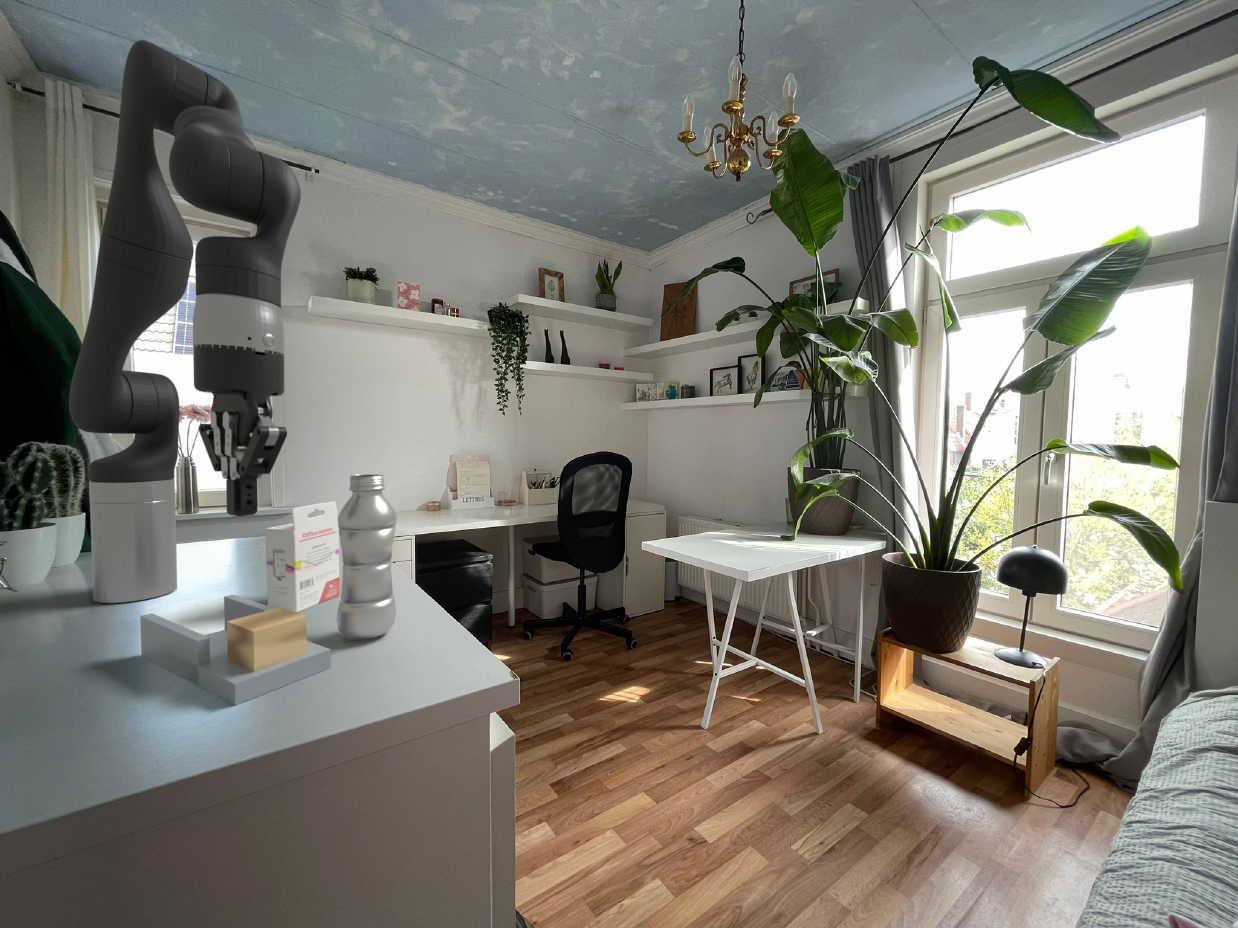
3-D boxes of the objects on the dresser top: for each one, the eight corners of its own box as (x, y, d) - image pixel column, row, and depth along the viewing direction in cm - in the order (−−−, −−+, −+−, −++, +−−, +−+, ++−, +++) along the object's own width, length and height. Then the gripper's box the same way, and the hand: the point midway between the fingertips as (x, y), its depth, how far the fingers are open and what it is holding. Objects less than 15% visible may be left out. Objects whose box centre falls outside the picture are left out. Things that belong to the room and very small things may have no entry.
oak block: (227, 660, 52) (226, 621, 52) (279, 643, 56) (279, 607, 56) (254, 672, 49) (253, 631, 49) (306, 653, 54) (306, 615, 54)
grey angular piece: (141, 655, 57) (140, 615, 56) (233, 629, 65) (233, 594, 64) (235, 705, 47) (234, 657, 47) (330, 667, 55) (330, 626, 55)
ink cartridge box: (313, 592, 80) (312, 498, 79) (340, 595, 79) (340, 500, 78) (264, 610, 72) (263, 506, 71) (295, 614, 71) (294, 508, 70)
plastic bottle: (328, 635, 64) (327, 474, 62) (384, 621, 69) (383, 472, 67) (348, 651, 59) (347, 478, 58) (405, 635, 64) (405, 476, 63)
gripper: (165, 345, 53) (168, 512, 54) (231, 337, 46) (234, 527, 47) (247, 355, 59) (248, 505, 60) (315, 350, 53) (315, 517, 54)
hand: (242, 514), depth 54 cm, fingers closed
